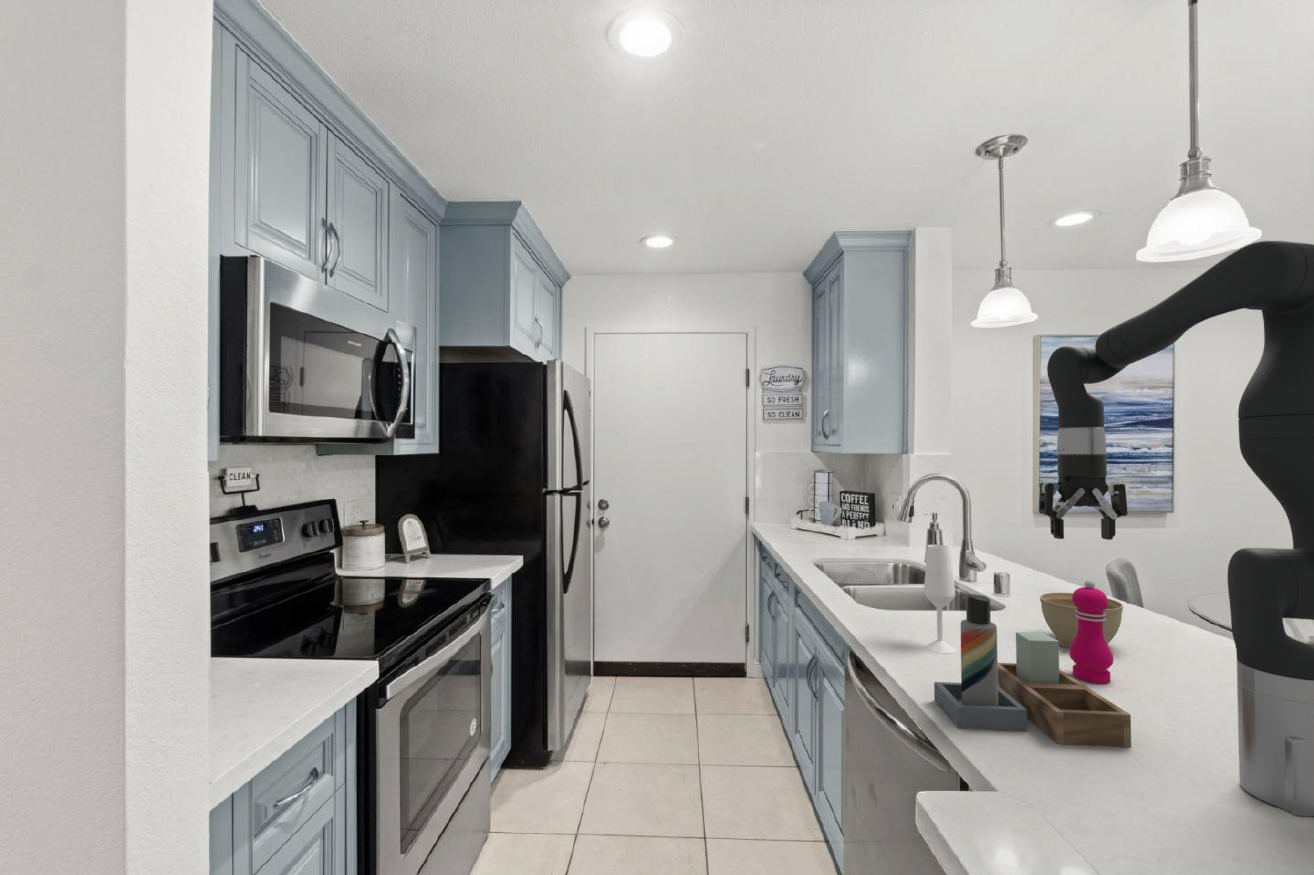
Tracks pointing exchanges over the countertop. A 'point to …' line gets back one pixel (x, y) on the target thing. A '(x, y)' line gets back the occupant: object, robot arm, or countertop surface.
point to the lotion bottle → (979, 654)
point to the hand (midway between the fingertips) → (1082, 538)
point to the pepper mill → (1090, 636)
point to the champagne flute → (939, 589)
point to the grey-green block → (1037, 658)
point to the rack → (1068, 710)
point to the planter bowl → (1065, 623)
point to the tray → (980, 710)
